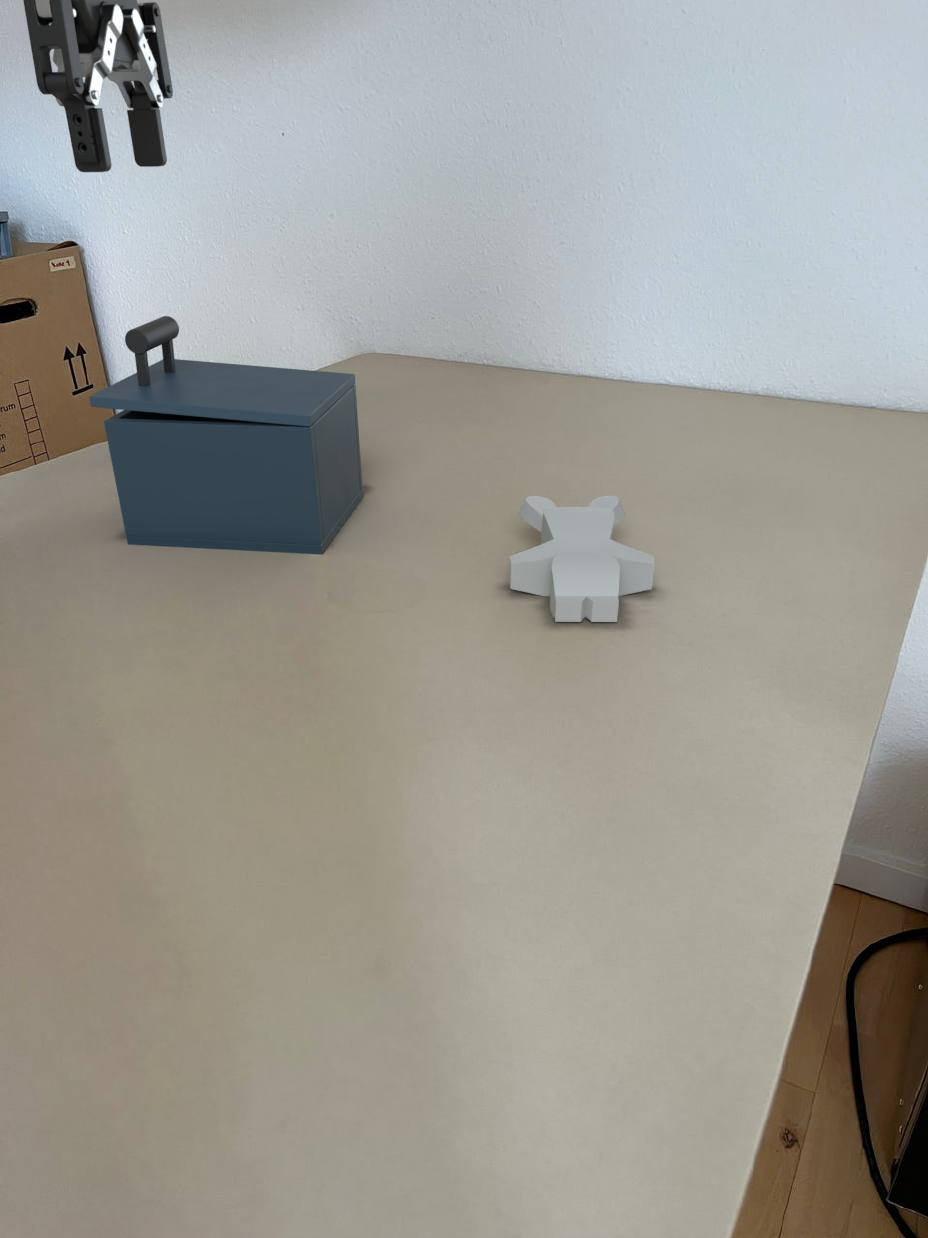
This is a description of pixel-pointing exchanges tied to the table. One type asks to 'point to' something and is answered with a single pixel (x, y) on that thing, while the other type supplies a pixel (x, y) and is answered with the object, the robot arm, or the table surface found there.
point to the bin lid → (218, 385)
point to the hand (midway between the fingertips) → (124, 168)
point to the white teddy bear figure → (579, 560)
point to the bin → (236, 479)
